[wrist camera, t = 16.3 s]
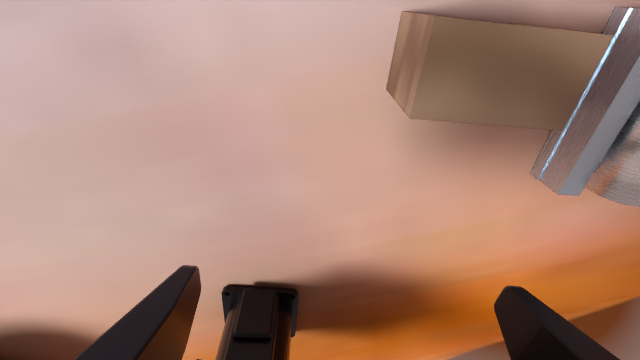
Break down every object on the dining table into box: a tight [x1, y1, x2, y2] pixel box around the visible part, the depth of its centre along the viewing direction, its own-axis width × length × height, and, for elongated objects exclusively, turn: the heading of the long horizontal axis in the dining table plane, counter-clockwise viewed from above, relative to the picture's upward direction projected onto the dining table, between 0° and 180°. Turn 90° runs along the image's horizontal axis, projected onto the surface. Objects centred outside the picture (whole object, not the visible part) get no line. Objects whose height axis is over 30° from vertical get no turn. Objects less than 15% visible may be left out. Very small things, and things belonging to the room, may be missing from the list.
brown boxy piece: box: [386, 11, 613, 131], centre depth 15 cm, size 4×7×5 cm, turn 85°
